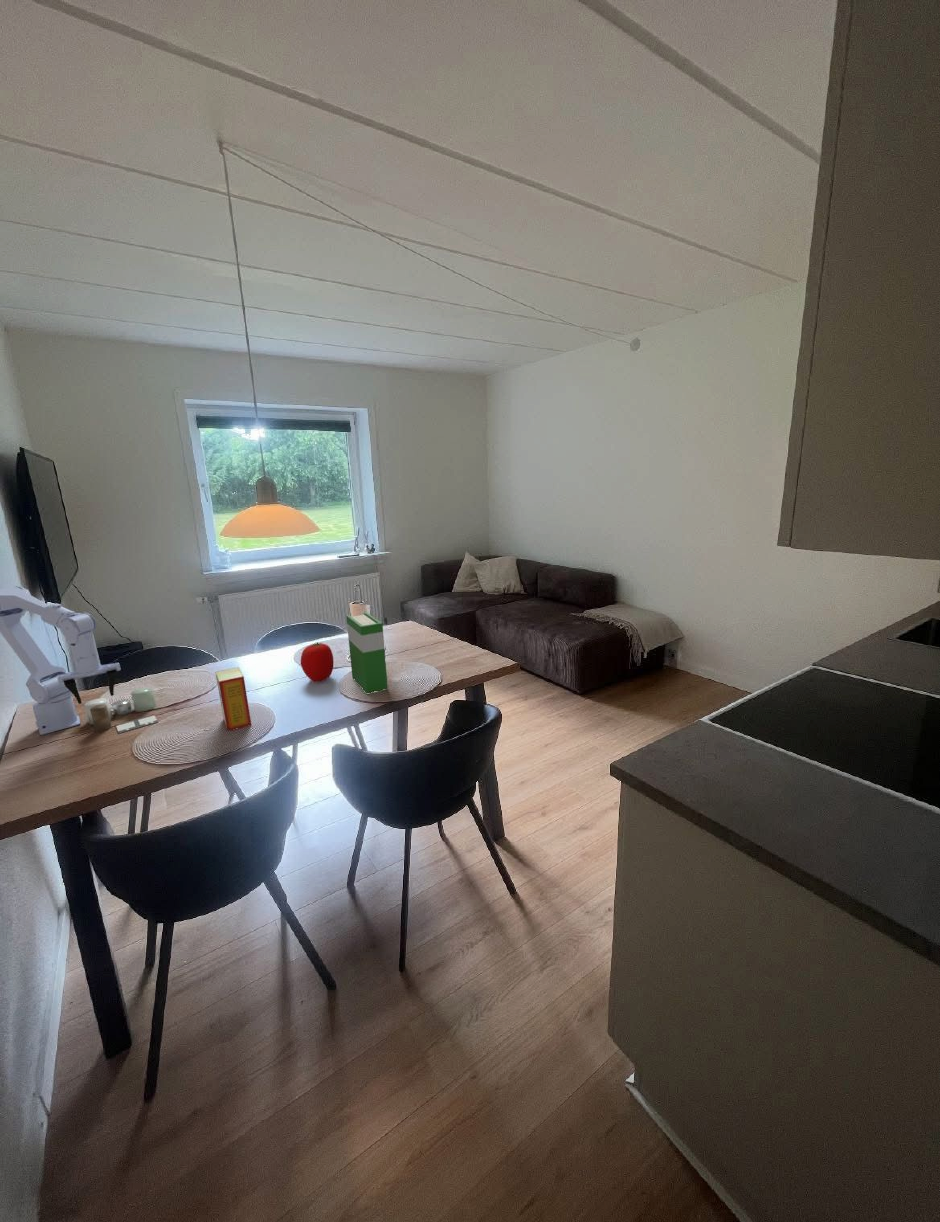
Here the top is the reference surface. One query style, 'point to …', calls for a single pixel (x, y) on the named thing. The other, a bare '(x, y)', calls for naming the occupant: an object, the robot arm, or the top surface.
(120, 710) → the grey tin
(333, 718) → the top surface
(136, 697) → the mug sage
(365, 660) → the hardback book
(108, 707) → the mug white
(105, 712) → the walnut peg
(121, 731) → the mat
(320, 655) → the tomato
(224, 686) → the baking soda box
